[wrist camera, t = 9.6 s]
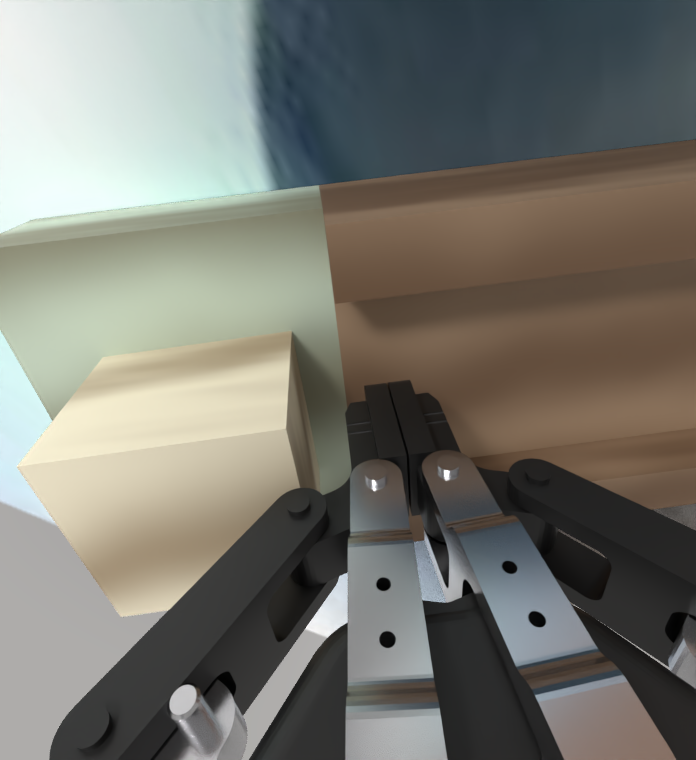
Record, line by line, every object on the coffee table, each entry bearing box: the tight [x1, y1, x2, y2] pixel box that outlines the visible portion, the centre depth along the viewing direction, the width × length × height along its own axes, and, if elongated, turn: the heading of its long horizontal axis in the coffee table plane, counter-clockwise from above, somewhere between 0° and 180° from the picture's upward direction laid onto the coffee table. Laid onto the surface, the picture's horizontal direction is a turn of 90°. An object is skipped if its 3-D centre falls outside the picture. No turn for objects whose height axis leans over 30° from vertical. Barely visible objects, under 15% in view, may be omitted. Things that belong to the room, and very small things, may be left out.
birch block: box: [17, 331, 320, 617], centre depth 14 cm, size 6×6×5 cm
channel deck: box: [0, 140, 696, 542], centre depth 16 cm, size 12×36×6 cm, turn 96°
